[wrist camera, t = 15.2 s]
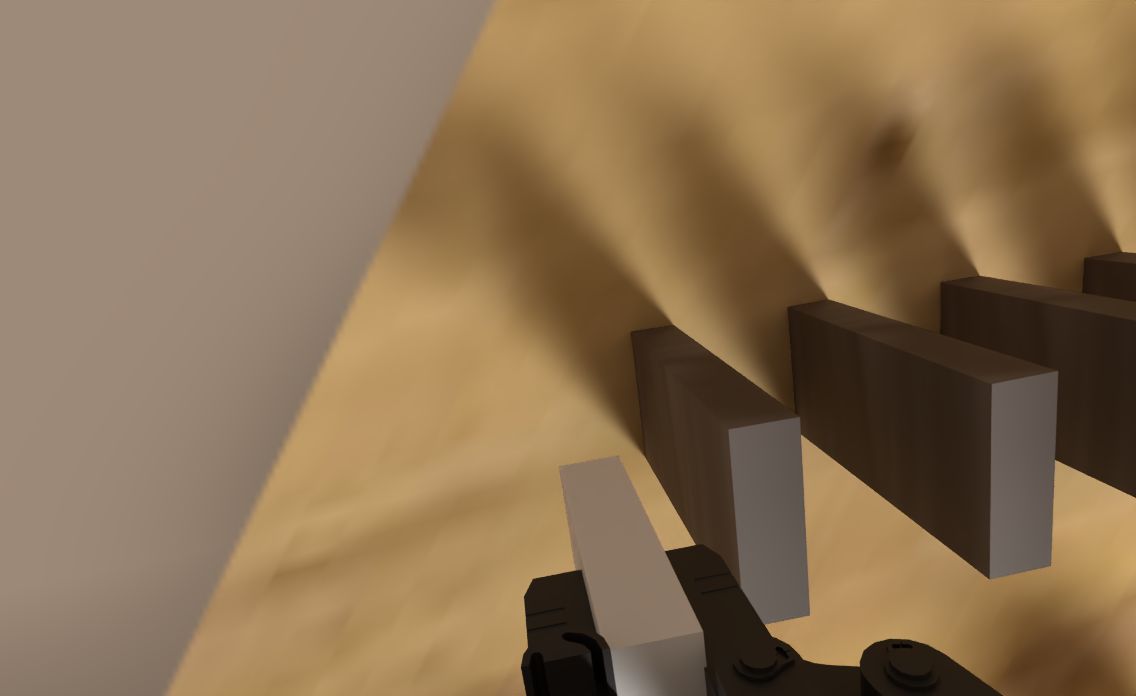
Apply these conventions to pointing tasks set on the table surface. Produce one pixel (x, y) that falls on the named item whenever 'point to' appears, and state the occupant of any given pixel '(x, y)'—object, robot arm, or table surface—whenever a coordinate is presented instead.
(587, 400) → the table surface
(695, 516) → the domino
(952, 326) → the domino
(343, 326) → the table surface
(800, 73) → the table surface
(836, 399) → the domino
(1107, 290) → the domino
